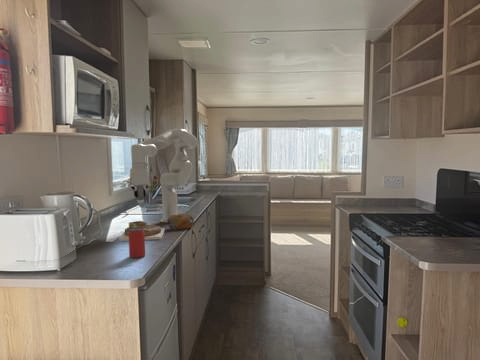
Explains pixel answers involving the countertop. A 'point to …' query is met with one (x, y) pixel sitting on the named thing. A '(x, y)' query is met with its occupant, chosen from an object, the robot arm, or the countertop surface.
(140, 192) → the grey rounded cylinder
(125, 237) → the dial base
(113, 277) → the countertop surface
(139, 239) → the beer can
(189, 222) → the tin
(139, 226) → the dial
